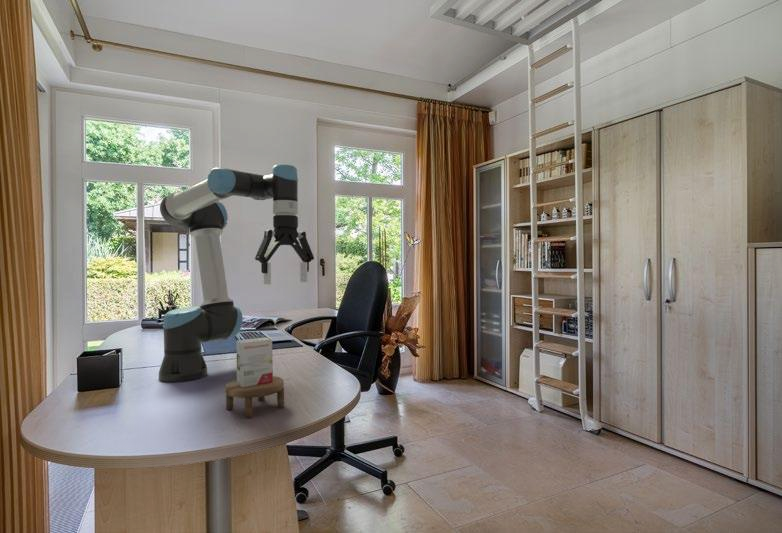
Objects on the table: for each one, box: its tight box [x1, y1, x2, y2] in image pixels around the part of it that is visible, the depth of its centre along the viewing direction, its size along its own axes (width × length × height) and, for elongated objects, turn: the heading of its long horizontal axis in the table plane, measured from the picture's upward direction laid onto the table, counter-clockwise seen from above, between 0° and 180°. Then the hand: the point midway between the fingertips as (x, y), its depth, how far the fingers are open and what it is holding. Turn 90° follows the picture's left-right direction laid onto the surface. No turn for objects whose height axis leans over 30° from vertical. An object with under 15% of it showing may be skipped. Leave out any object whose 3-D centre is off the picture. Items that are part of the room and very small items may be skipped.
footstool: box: [225, 375, 285, 419], centre depth 116 cm, size 15×15×7 cm
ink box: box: [235, 336, 274, 388], centre depth 116 cm, size 9×5×12 cm, turn 124°
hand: (286, 283), depth 135 cm, fingers open, 13 cm apart
